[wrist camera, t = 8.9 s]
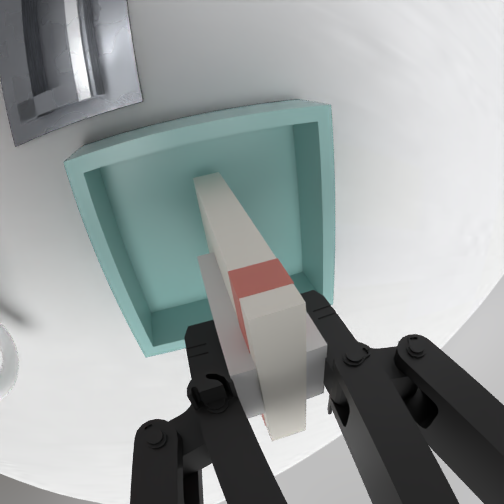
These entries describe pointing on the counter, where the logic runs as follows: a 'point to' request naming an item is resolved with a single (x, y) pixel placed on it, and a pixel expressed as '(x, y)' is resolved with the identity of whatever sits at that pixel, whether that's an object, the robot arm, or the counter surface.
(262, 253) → the cream red-striped panel
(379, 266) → the counter surface
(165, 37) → the counter surface
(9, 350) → the mug
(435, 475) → the robot arm
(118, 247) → the tray
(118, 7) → the metal rectangular holder
